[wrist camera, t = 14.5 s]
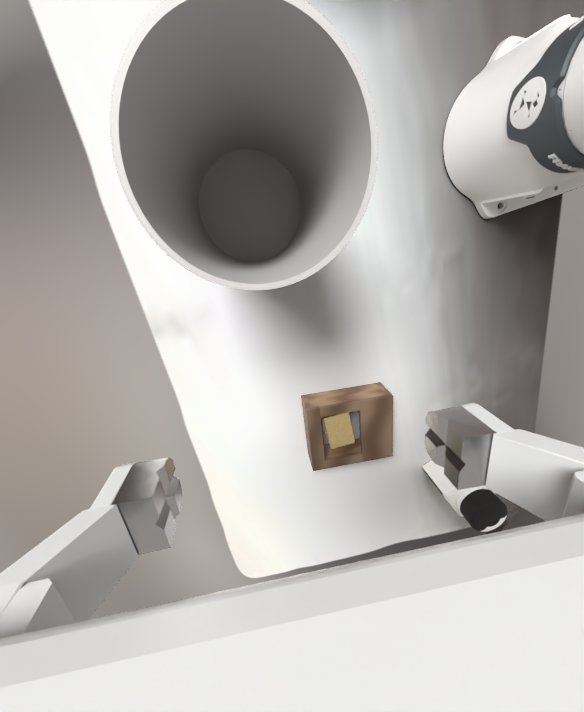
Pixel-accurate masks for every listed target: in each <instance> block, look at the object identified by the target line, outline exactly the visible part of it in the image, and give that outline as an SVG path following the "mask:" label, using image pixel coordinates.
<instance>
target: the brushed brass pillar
mask: <svg viewBox="0 0 584 712" xmlns="http://www.w3.org/2000/svg"><path fill="white" fill-rule="evenodd" d="M321 418H322V422H323V426H324V430H325V434H326V438H327V440H328V443H329V445H330V448H331V450H332V449H335V448H339V447H342V446H346V445H349V444H353V443H355V439H354V434H353V429H352V425H351V420H350V415H349V412H348V413H342V414H337V415H331V416H325V417H321Z"/></svg>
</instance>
